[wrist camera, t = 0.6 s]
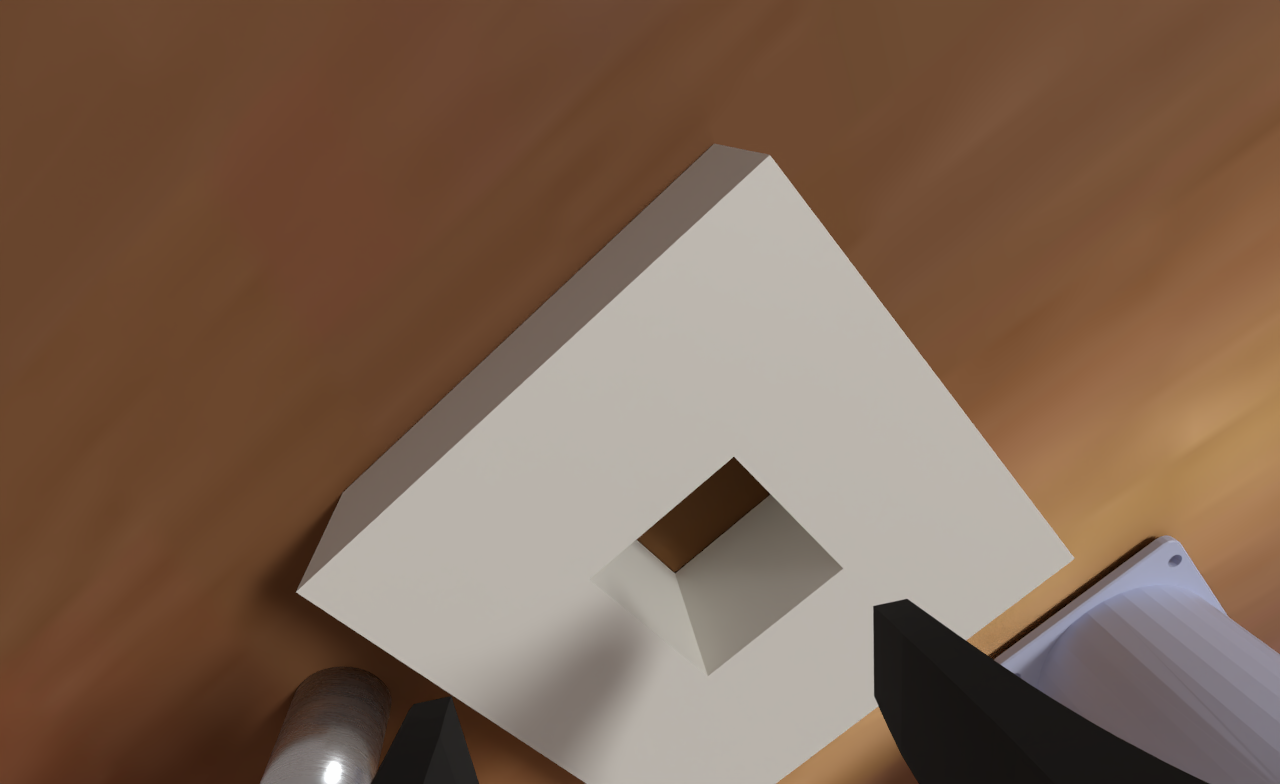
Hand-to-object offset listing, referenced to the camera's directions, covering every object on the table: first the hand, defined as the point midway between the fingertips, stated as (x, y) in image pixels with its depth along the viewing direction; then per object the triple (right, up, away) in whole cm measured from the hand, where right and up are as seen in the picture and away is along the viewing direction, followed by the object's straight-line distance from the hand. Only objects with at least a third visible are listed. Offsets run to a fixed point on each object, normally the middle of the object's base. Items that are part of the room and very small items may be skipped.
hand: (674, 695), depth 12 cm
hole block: (+1, +2, +10) cm, 10 cm away
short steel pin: (-10, -5, +11) cm, 16 cm away
